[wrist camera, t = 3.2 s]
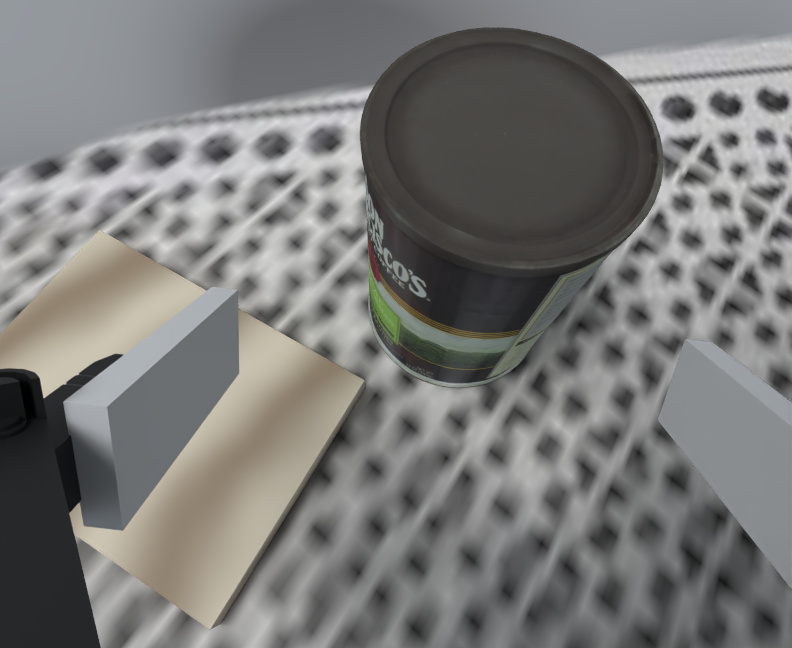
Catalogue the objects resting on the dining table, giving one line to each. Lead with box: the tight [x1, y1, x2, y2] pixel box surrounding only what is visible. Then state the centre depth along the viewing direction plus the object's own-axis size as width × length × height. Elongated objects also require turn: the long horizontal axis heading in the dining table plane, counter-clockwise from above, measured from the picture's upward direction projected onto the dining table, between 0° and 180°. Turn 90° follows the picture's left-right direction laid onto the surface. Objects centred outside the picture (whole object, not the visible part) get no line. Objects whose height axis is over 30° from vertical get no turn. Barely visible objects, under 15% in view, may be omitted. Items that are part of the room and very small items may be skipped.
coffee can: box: [360, 28, 663, 387], centre depth 24 cm, size 10×10×14 cm
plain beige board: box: [0, 230, 365, 629], centre depth 27 cm, size 18×13×2 cm
